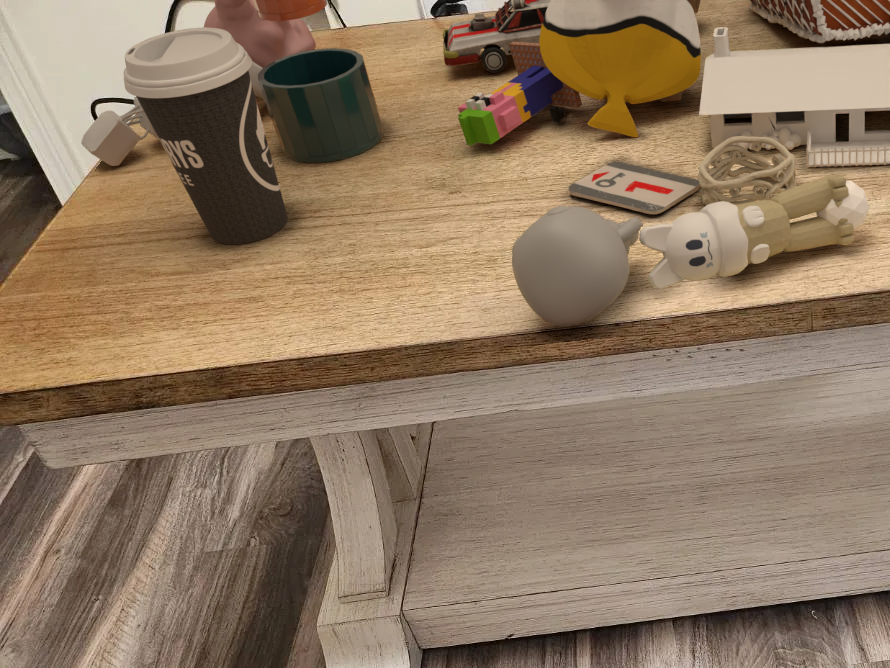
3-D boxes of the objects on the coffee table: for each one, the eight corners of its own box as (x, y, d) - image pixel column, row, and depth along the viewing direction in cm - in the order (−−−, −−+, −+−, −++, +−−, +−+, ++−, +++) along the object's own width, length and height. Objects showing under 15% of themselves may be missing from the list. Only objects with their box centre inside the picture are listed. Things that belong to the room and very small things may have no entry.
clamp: (283, 93, 116) (254, 27, 111) (298, 102, 114) (268, 35, 109) (99, 175, 109) (59, 108, 104) (111, 186, 107) (70, 118, 102)
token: (654, 212, 90) (561, 187, 95) (654, 217, 90) (561, 192, 95) (705, 180, 94) (614, 157, 99) (705, 185, 95) (614, 162, 99)
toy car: (447, 55, 122) (429, -19, 116) (609, 32, 123) (599, -43, 118) (448, 81, 116) (429, 4, 111) (618, 56, 118) (608, -21, 112)
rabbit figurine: (886, 240, 83) (663, 302, 79) (831, 226, 92) (626, 282, 88) (877, 166, 81) (647, 227, 77) (821, 159, 90) (610, 213, 85)
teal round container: (302, 172, 103) (276, 96, 98) (270, 140, 109) (244, 67, 104) (399, 141, 106) (378, 67, 101) (362, 112, 112) (341, 40, 107)
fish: (562, -135, 96) (731, -92, 99) (552, -56, 108) (702, -20, 111) (532, 86, 95) (703, 123, 98) (526, 140, 107) (678, 172, 110)
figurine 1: (322, 94, 116) (282, -30, 108) (214, 107, 115) (166, -16, 107) (332, 64, 122) (296, -56, 114) (231, 76, 122) (187, -43, 114)
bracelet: (686, 146, 92) (708, 185, 86) (777, 124, 93) (806, 162, 87) (693, 191, 95) (715, 232, 89) (782, 170, 96) (810, 209, 90)
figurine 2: (566, 45, 104) (480, 100, 97) (582, 104, 108) (500, 162, 101) (513, 41, 107) (426, 95, 101) (530, 99, 111) (448, 154, 105)
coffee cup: (233, 196, 100) (164, 22, 89) (326, 203, 97) (266, 24, 87) (168, 249, 93) (85, 67, 83) (266, 257, 91) (193, 71, 81)
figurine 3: (627, 164, 82) (553, 195, 72) (688, 249, 84) (624, 291, 74) (556, 227, 87) (477, 264, 77) (615, 307, 88) (545, 354, 78)
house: (695, 186, 94) (686, 100, 89) (720, 79, 111) (714, 1, 106) (995, 177, 91) (1004, 87, 86) (974, 68, 108) (980, -13, 103)
